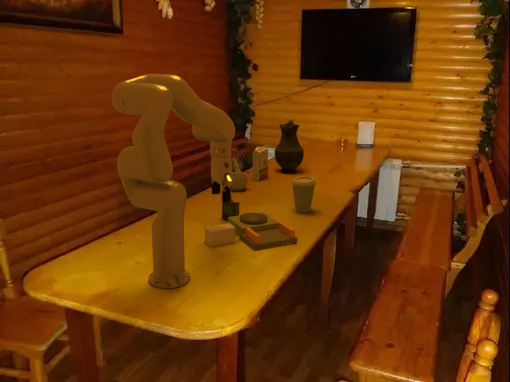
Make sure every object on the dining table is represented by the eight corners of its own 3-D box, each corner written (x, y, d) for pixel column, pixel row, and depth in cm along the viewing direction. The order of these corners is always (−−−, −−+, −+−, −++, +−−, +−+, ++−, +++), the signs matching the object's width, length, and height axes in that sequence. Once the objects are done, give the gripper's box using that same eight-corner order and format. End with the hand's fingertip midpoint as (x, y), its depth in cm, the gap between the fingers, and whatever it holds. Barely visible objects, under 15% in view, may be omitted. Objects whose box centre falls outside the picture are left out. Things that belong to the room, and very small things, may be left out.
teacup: (251, 188, 247) (251, 174, 244) (239, 193, 238) (239, 178, 235) (229, 184, 254) (229, 170, 251) (217, 189, 245) (217, 174, 243)
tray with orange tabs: (297, 242, 177) (297, 229, 175) (254, 250, 169) (254, 236, 168) (265, 220, 199) (265, 209, 198) (225, 226, 191) (225, 214, 190)
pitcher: (272, 174, 278) (273, 123, 269) (276, 166, 298) (278, 118, 289) (301, 176, 275) (304, 124, 267) (304, 168, 295) (306, 119, 287)
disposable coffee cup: (304, 215, 207) (306, 182, 202) (285, 210, 214) (286, 178, 209) (318, 210, 214) (320, 178, 210) (299, 205, 221) (301, 174, 217)
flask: (240, 221, 198) (240, 197, 195) (235, 223, 196) (236, 198, 193) (224, 216, 203) (224, 192, 200) (219, 218, 201) (219, 194, 198)
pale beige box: (236, 242, 176) (236, 227, 175) (210, 247, 172) (210, 231, 170) (230, 237, 181) (230, 222, 179) (204, 242, 176) (204, 227, 174)
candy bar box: (260, 176, 273) (260, 148, 268) (268, 177, 271) (268, 148, 266) (251, 180, 263) (252, 151, 259) (259, 181, 261) (260, 152, 257)
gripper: (240, 155, 161) (240, 203, 166) (221, 146, 176) (221, 190, 181) (220, 157, 158) (220, 206, 163) (202, 147, 172) (203, 192, 177)
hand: (221, 197), depth 172 cm, fingers open, 9 cm apart
